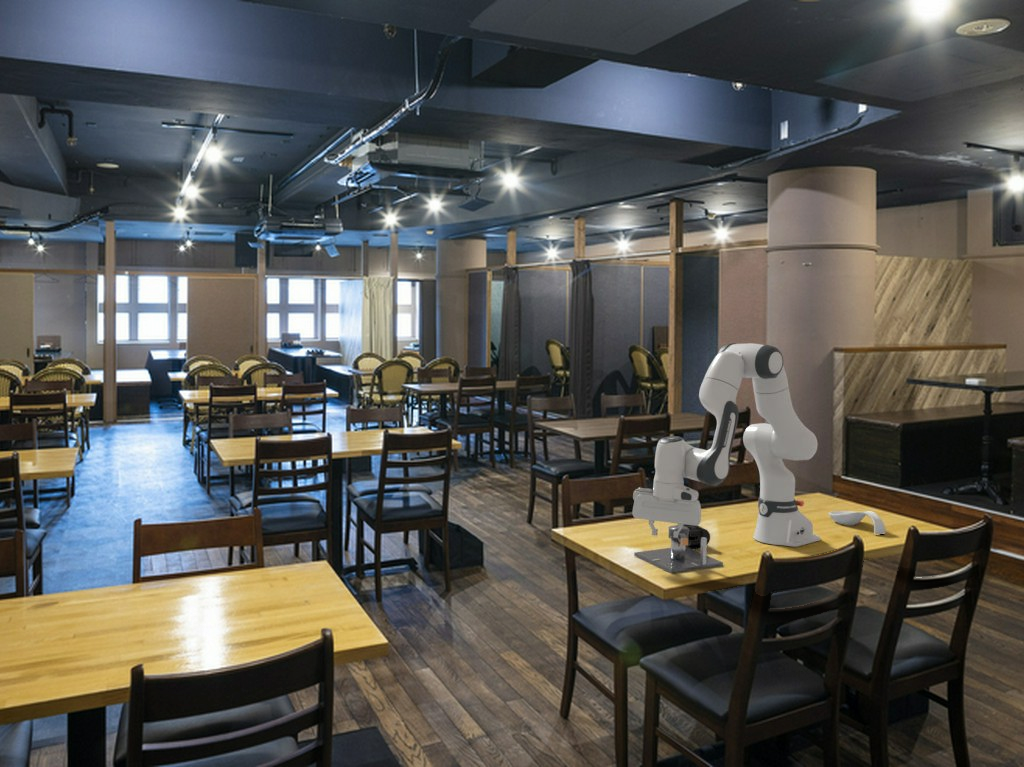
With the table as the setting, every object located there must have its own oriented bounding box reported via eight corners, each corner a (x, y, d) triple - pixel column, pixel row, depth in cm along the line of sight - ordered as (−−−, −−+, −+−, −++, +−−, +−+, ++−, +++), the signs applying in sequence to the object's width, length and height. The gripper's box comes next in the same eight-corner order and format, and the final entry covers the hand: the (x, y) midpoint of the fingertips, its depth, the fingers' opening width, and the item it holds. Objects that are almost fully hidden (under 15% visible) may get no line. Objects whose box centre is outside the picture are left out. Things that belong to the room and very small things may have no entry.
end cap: (710, 548, 259) (710, 528, 259) (691, 550, 257) (691, 529, 257) (693, 540, 269) (694, 520, 268) (675, 542, 267) (675, 522, 266)
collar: (666, 534, 248) (667, 525, 248) (686, 535, 248) (686, 525, 248) (674, 547, 235) (674, 537, 235) (695, 547, 235) (695, 537, 234)
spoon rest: (821, 520, 298) (822, 501, 298) (847, 518, 302) (848, 499, 301) (867, 537, 276) (868, 517, 275) (895, 535, 280) (896, 514, 279)
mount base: (683, 548, 258) (684, 521, 258) (722, 565, 241) (723, 536, 240) (634, 555, 250) (635, 527, 249) (671, 573, 233) (672, 543, 232)
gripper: (631, 488, 240) (628, 534, 241) (700, 496, 233) (697, 543, 234) (635, 485, 246) (633, 529, 247) (703, 492, 239) (700, 538, 240)
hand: (665, 536), depth 240 cm, fingers open, 5 cm apart
